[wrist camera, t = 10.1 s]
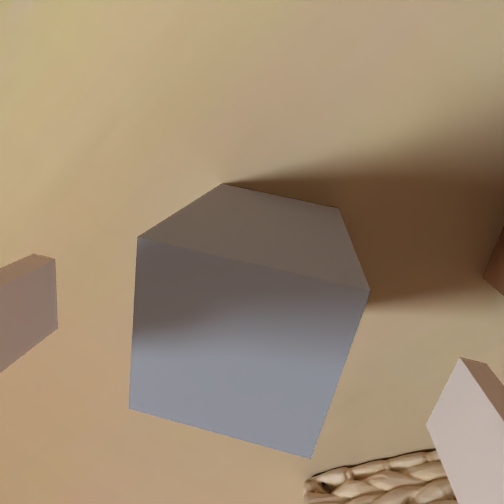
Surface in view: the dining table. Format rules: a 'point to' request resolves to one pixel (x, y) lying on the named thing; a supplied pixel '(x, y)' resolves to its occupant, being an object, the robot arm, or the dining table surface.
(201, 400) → the blue block
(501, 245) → the base block
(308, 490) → the storage basket
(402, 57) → the dining table surface
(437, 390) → the dining table surface
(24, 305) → the robot arm
